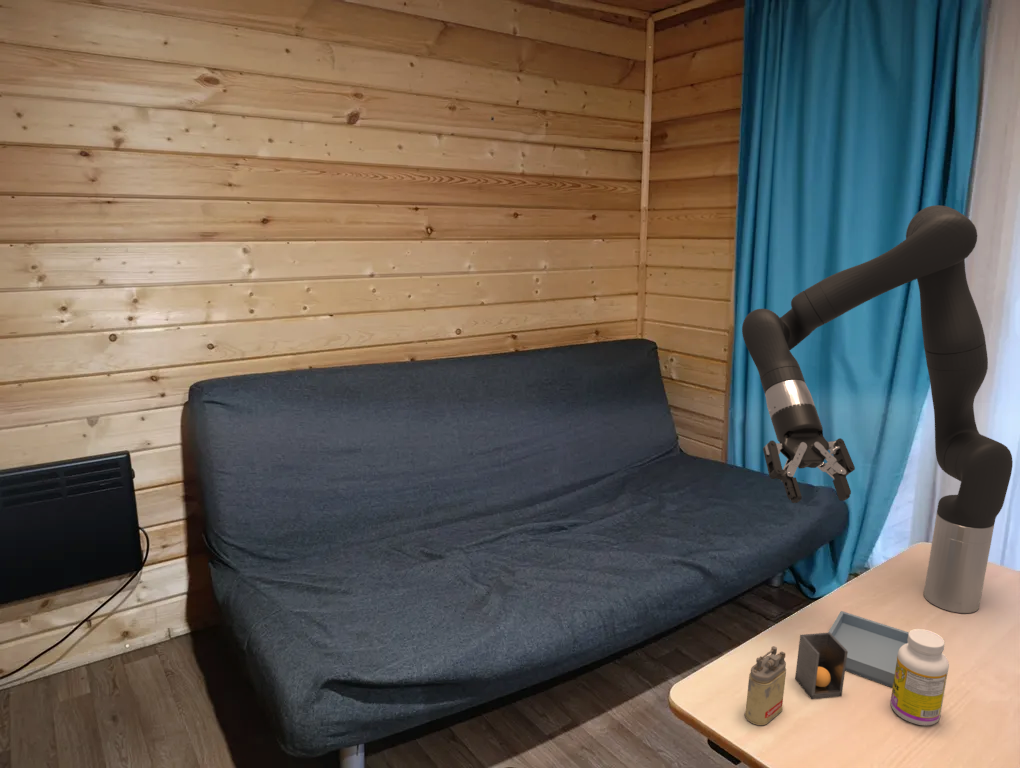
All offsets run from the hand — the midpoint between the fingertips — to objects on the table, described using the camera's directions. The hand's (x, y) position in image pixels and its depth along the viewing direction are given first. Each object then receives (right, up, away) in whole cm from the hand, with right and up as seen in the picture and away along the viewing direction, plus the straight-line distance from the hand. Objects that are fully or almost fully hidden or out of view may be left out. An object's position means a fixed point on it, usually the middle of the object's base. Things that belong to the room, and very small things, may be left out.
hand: (821, 500), depth 120 cm
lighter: (-13, -31, -9) cm, 34 cm away
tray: (+10, -27, +5) cm, 29 cm away
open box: (-2, -29, -3) cm, 29 cm away
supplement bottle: (+10, -31, -9) cm, 34 cm away
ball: (-2, -27, -4) cm, 27 cm away
